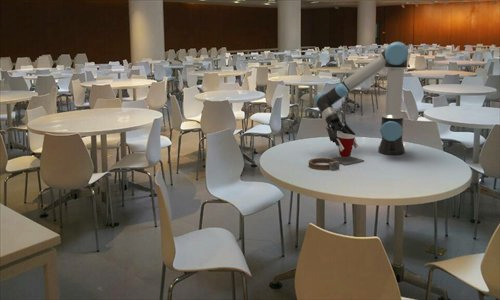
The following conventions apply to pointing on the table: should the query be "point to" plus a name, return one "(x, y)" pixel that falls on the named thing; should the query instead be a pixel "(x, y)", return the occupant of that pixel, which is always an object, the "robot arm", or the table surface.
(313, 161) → the walnut collar
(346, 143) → the plastic cup
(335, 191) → the table surface
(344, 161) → the rubber pad
